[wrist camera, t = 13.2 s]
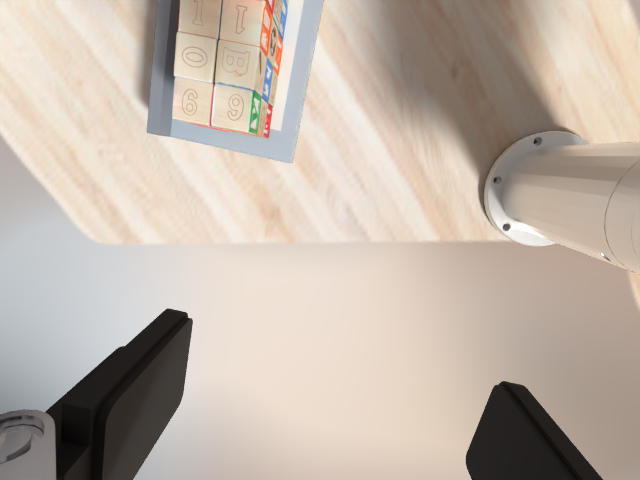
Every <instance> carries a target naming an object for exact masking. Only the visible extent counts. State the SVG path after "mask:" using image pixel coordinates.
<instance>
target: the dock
mask: <svg viewBox="0 0 640 480" xmlns="http://www.w3.org/2000/svg"><path fill="white" fill-rule="evenodd" d="M323 1H324V0H289V3H288V12H287V18H286V25H285V31H284V38H283V50H282V57H281V63H280V70H279V75H278V83H277V90H276V96H275V103H274V107H273V108H272V109H273V111H272V118H271V125H270V133H269V138H268V139H266V138H259V137H254V136H248V135H243V134H239V133H234V132H227V131H222V130H217V129H212V128H207V127H202V126H198V125H194V124H190V123H187V122H183V121H180V120H176V119H173V118H172V107H173V94H174V81H175V77H174V62H175V48H176V34H177V32H178V22H179V8H180V0H158V2H157V14H156V26H155V38H154V51H153V63H152V75H151V87H150V99H149V111H148V123H147V133H151V134H155V135H161V136H169V137H174V138H178V139H183V140H187V141H192V142H196V143H201V144H205V145H210V146H214V147H219V148H223V149H228V150H232V151H237V152H241V153H246V154H250V155H255V156H259V157H264V158H268V159H273V160H277V161H282V162H286V163H293V159H294V153H295V148H296V143H297V138H298V132H299V127H300V122H301V117H302V111H303V106H304V101H305V96H306V90H307V85H308V80H309V75H310V70H311V64H312V59H313V54H314V49H315V43H316V38H317V33H318V28H319V22H320V17H321V12H322V7H323Z"/></svg>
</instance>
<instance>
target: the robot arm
mask: <svg viewBox="0 0 640 480" xmlns="http://www.w3.org/2000/svg"><path fill="white" fill-rule="evenodd" d="M534 140H535V143H534ZM494 178H495V179H496V180H495V181H494V182H493V179H494ZM484 205H485V210H486V213H487V215H488V218H489V220H490V222H491V223H492V224H493V226H494V227H495V229H496V230H498V231H499V232H500V233H501V234H502V235H503V236H505V237H507V238H509V239H510V240H512V241H515V242H517V243H520V244H524V245H528V246H546V245H552V244H555V243H559V244H562V245H564V246H567V247H569V248H572V249H574V250H577V251H580V252H582V253H585V254H587V255H590V256H593V257H595V258H598V259H600V260H603V261H606V262H608V263H611V264H614V265H616V266H619V267H621V268H624V269H627V270H629V271H632V272H634V273H637V274H640V142H623V143H604V144H590V143H589V142H588V141H586V140H584V139H583V138H581V137H579V136H577V135H574V134H571V133H569V132H561V131H548V132H541V133H535V134H532V135H529V136H527V137H524V138H522V139H520V140H519V141H517V142H515V143H513V144H512V145H511V146H510V147H508V148H507V149H506V150H505V151H504V152H503V153H502V154H501V155H500V156H499V157H498V159H497V160H496V161H495V163H494V164H493V166H492V168H491V169H490V171H489V174H488V177H487V179H486V183H485V188H484ZM504 224H505V226H504V227H503V225H504ZM192 323H193V321H192V319H190V318H188V315H187V313H186V312H182V311H177V310H173V309H166V310H165V311H164V312H163V313H161V314H160V315H159V316H158V317H157V318H156V319H155V320H154V321H153V322H151V323H150V324H149V325H148V326H147V327H146V328H145V329H144V330H143V331H141V332H140V333H139V334H138V335H137V336H136V337H135V338H134V339H133V340H132V341H130V342H129V343H128V344H127V345H126V346H123V347H119V348H118V349H116V350H115V351H114V352H113V353H112V354H111V355H109V356H108V357H107V358H106V359H105V360H104V361H102V362H101V363H100V364H99V365H98V366H97V367H96V368H95V369H93V370H92V371H91V372H90V373H89V374H88V375H87V376H85V377H84V378H83V379H82V380H81V381H80V382H79V383H77V384H76V386H74V387H73V388H72V389H71V390H70V391H68V392H67V393H66V394H65V395H64V396H63V397H62V398H60V399H59V400H58V401H57V402H56V403H55V404H54V405H53V406H51V407H50V408H49V409H48V410H47V411H46V412H42V411H38V410H17V411H10V412H7V413H3V414H0V480H133V479H134V477H135V475H136V474H137V472H138V470H139V469H140V467H141V466H142V464H143V463H144V461H145V459H146V458H147V456H148V455H149V453H150V451H151V450H152V448H153V447H154V445H155V443H156V442H157V440H158V439H159V437H160V435H161V434H162V432H163V431H164V429H165V427H166V426H167V424H168V422H169V421H170V419H171V418H172V416H173V415H174V413H175V411H176V410H177V408H178V406H179V405H180V402H181V399H182V396H183V391H184V383H185V376H186V369H187V361H188V354H189V346H190V339H191V331H192ZM466 466H467V469H468V472H469V474H470V476H471V479H472V480H603V479H602V478H601V477H600V476H599V475H598V473H597V472H596V471H595V470H594V468H593V467H592V466H591V465H590V464H589V462H588V461H587V460H586V459H585V458H584V457H583V455H582V454H581V453H580V452H579V450H578V449H577V448H576V447H575V446H574V444H573V443H572V442H571V441H570V440H569V438H568V437H567V436H566V435H565V434H564V432H563V431H562V430H561V429H560V428H559V426H558V425H557V424H556V423H555V422H554V421H553V419H552V418H551V417H550V416H549V414H548V413H547V412H546V411H545V410H544V408H543V407H542V406H541V405H540V404H539V402H537V400H536V399H535V398H534V396H533V395H532V394H531V393H530V392H529V391H528V389H527V388H526V387H525V386H523V385H519V384H515V383H509V382H505V381H503V382H501V383H500V384H499V385H495V386H494V388H493V389H492V392H491V394H490V397H489V399H488V402H487V405H486V407H485V409H484V412H483V414H482V417H481V419H480V422H479V424H478V427H477V429H476V432H475V434H474V437H473V439H472V442H471V444H470V447H469V449H468V451H467V454H466Z"/></svg>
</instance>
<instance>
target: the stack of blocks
mask: <svg viewBox="0 0 640 480" xmlns="http://www.w3.org/2000/svg"><path fill="white" fill-rule="evenodd" d="M288 3H289V0H180V8H179V22H178V32H177V34H176V48H175V62H174V77H175V81H174V94H173V107H172V118H173V119H176V120H180V121H183V122H187V123H190V124H194V125H198V126H202V127H207V128H212V129H217V130H222V131H227V132H234V133H239V134H243V135H248V136H254V137H259V138H266V139H268V138H269V133H270V125H271V118H272V111H273V109H272V108H273V107H274V103H275V96H276V90H277V83H278V75H279V70H280V63H281V57H282V50H283V38H284V31H285V25H286V18H287V12H288Z"/></svg>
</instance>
